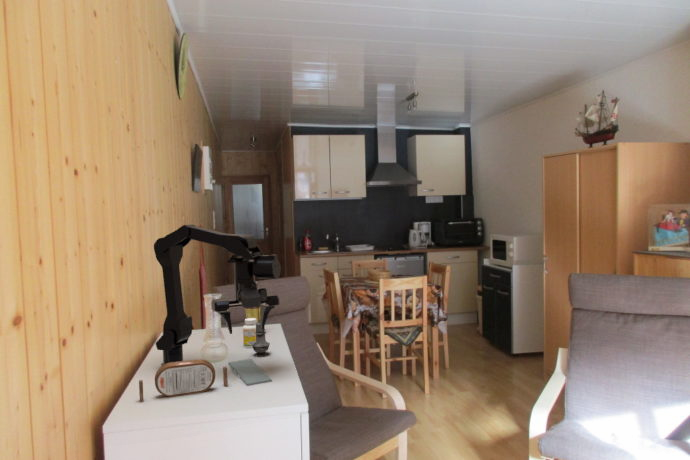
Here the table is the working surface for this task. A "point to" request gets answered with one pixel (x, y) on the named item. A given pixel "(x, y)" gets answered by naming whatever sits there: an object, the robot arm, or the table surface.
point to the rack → (225, 379)
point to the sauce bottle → (253, 311)
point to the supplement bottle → (249, 332)
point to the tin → (184, 377)
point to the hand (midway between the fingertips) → (246, 331)
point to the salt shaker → (260, 342)
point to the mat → (250, 372)
